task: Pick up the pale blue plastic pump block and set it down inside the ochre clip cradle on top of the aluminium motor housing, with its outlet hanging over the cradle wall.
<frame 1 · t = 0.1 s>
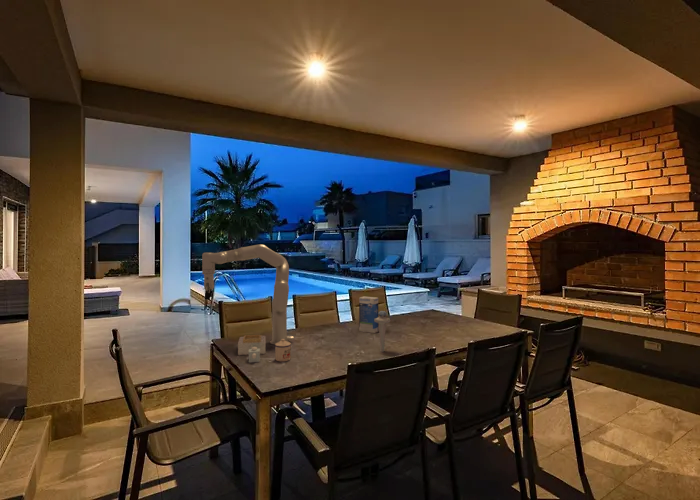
hand: (208, 298, 246), 31 cm above the table, tool pointing down, fingers open, 9 cm apart
string lights box: (368, 331, 289), on the table
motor: (252, 350, 237), on the table
novelty light stick: (382, 351, 237), on the table
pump: (254, 360, 218), on the table
teacup with lid: (284, 359, 221), on the table
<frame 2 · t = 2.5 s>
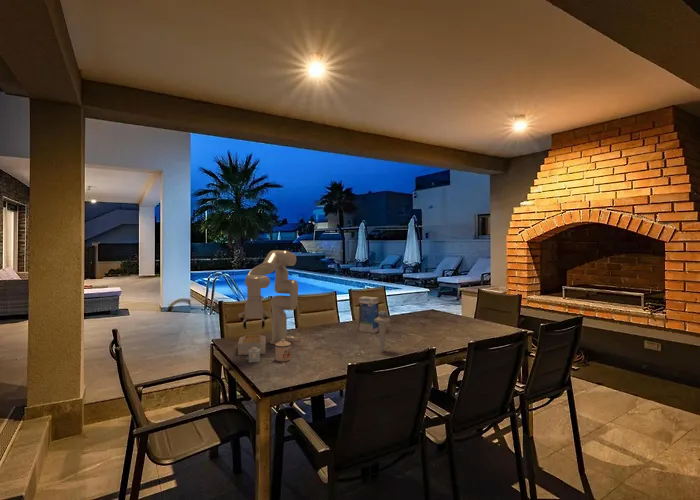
hand: (254, 328, 217), 18 cm above the table, tool pointing down, fingers open, 9 cm apart
nothing on the table moved.
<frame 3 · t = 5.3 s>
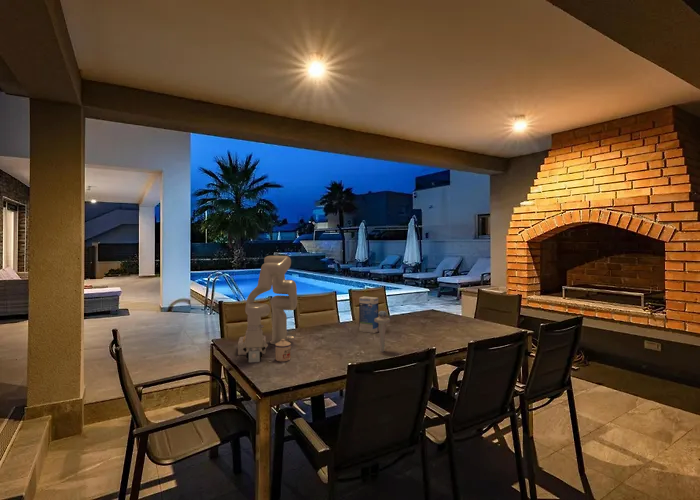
hand: (254, 358, 218), 1 cm above the table, tool pointing down, fingers closed on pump, 6 cm apart
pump: (254, 360, 218), on the table, touching gripper
everything else where it was.
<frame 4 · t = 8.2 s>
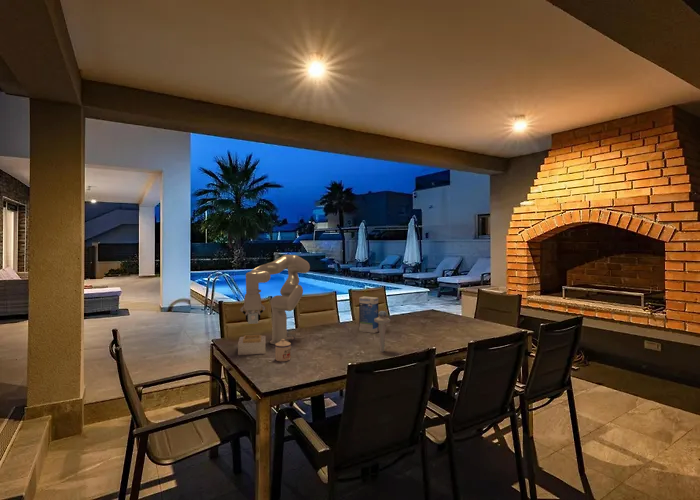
hand: (253, 320, 235), 19 cm above the table, tool pointing down, fingers closed on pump, 6 cm apart
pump: (253, 322, 235), point 18 cm above the table, touching gripper
everything else where it was.
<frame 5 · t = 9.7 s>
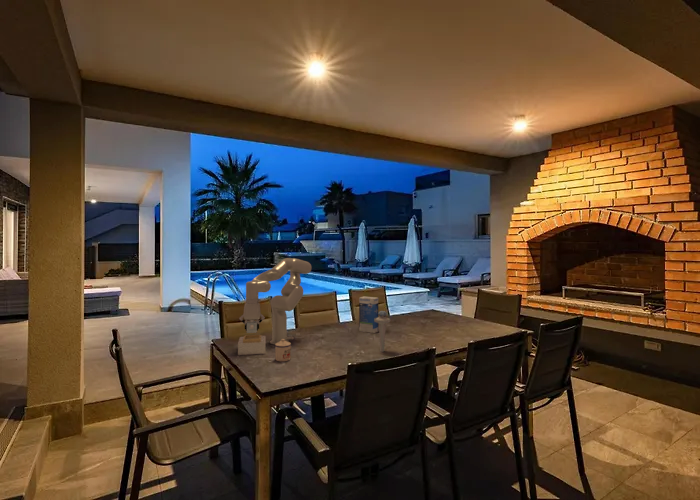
hand: (251, 330, 237), 13 cm above the table, tool pointing down, fingers closed on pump, 6 cm apart
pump: (251, 331, 237), point 12 cm above the table, touching gripper
everything else where it was.
when the fingers open (9 cm above the table, at t = 11.2 s): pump drops 1 cm, resting on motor.
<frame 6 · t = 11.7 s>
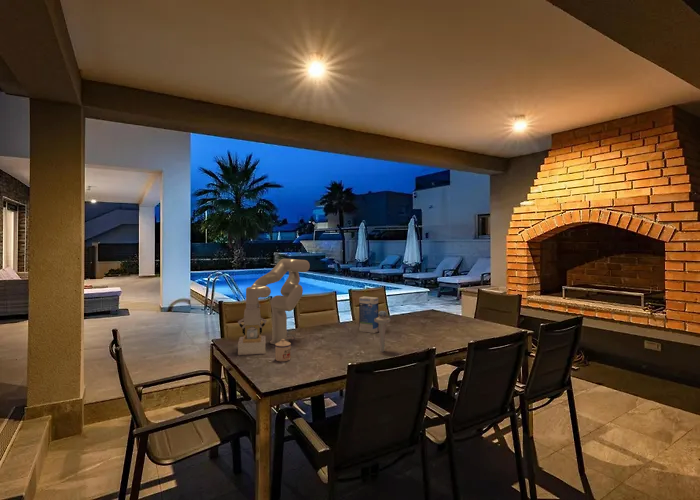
hand: (252, 334, 237), 10 cm above the table, tool pointing down, fingers open, 9 cm apart
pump: (252, 339, 237), point 7 cm above the table, touching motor
everything else where it was.
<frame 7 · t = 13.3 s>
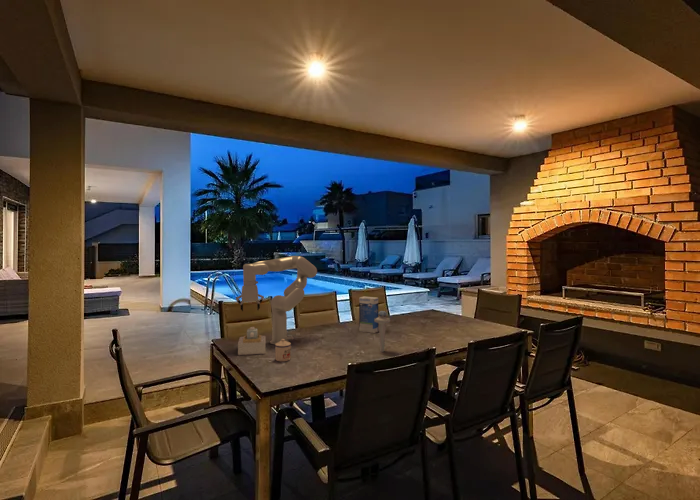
hand: (250, 310, 241), 24 cm above the table, tool pointing down, fingers open, 9 cm apart
nothing on the table moved.
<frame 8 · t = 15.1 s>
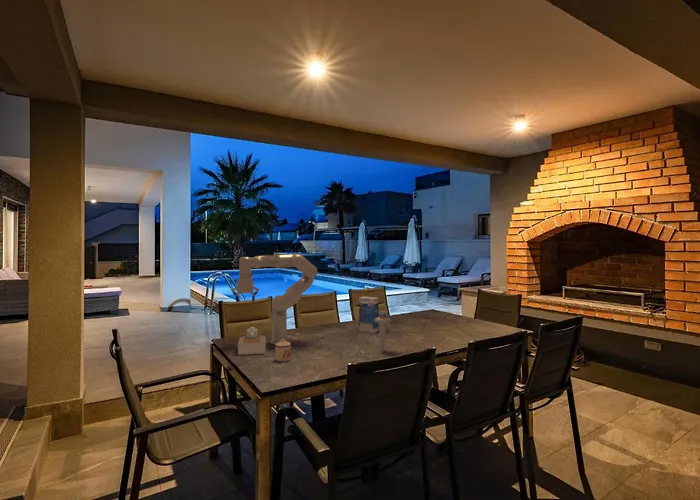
hand: (245, 302, 249), 28 cm above the table, tool pointing down, fingers open, 9 cm apart
nothing on the table moved.
at the end: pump 0.1 cm off-centre on the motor, point 7.0 cm above the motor's base; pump tilted 0°; the gripper is holding nothing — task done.
